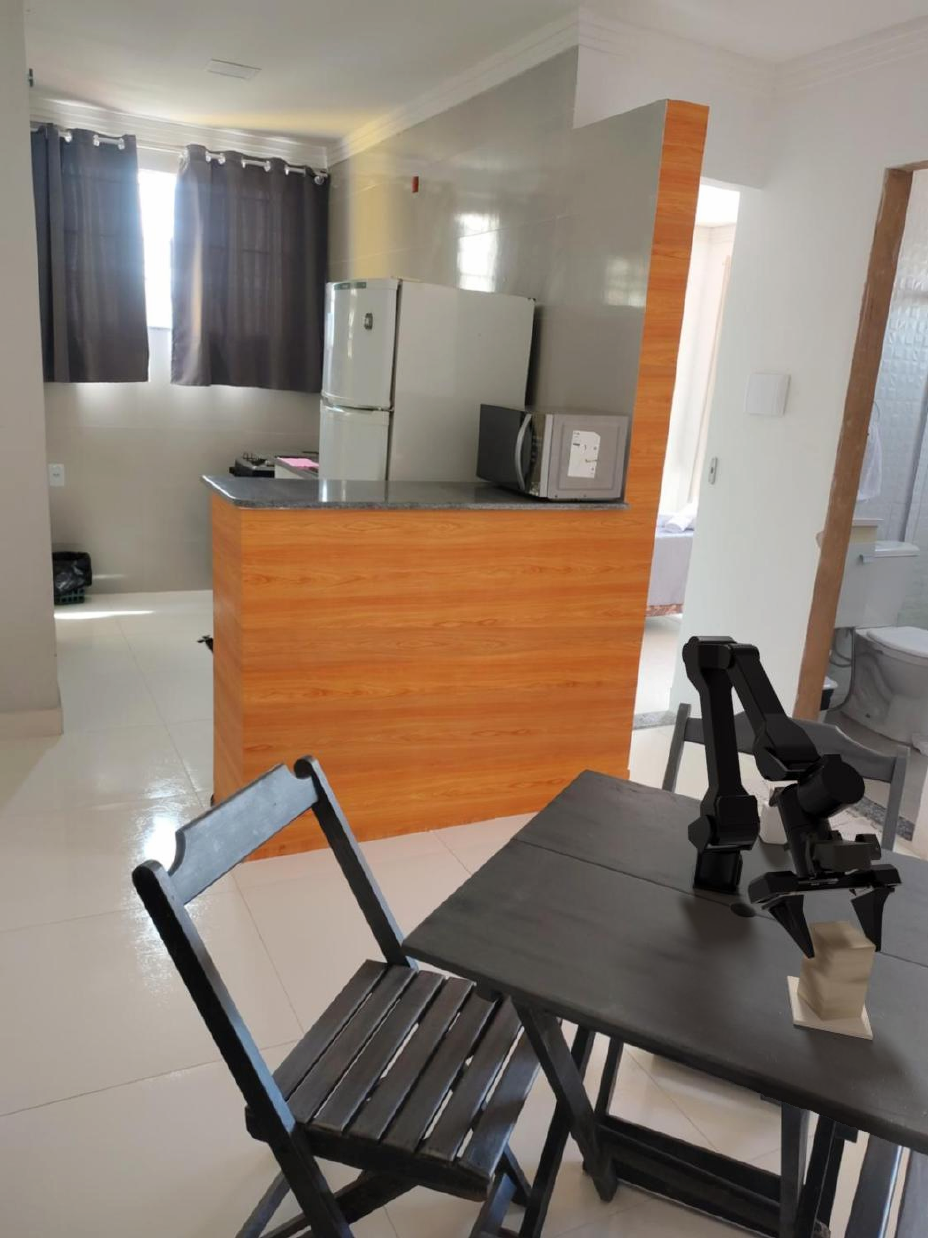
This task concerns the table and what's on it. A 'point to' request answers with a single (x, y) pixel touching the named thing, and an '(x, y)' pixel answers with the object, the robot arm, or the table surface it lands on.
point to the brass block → (836, 970)
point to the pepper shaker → (771, 823)
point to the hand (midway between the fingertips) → (844, 955)
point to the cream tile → (809, 1019)
